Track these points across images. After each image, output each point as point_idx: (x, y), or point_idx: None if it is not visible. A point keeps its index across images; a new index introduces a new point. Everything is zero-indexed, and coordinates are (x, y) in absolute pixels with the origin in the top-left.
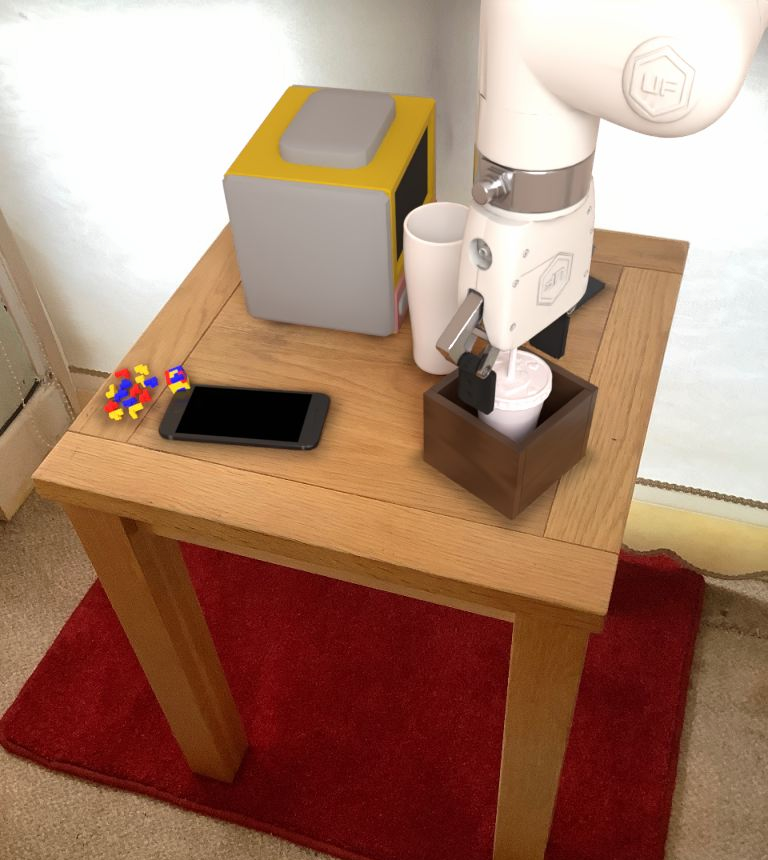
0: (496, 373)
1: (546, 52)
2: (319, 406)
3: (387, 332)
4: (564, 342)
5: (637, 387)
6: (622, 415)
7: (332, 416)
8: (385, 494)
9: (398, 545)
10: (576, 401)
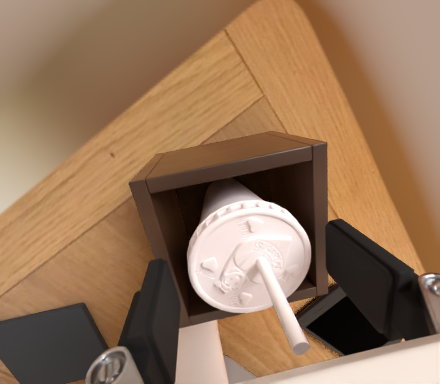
0: (398, 273)
1: None
2: (310, 315)
3: (227, 360)
4: (149, 281)
5: (37, 199)
6: (80, 176)
7: (301, 302)
8: (329, 219)
9: (361, 168)
10: (181, 178)
